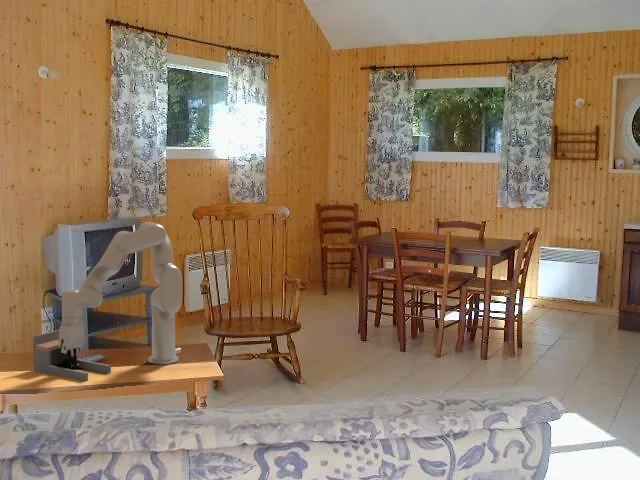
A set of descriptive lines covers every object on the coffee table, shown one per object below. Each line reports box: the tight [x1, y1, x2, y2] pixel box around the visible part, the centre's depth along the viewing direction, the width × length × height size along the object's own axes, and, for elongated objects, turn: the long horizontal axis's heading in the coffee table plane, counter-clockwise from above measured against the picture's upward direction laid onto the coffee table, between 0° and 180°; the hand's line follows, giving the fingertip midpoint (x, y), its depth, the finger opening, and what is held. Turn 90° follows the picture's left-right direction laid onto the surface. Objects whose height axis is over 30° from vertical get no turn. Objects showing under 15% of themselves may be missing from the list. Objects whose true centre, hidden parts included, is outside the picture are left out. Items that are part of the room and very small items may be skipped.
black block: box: [61, 359, 76, 370], centre depth 300 cm, size 12×7×5 cm, turn 11°
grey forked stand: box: [32, 329, 112, 382], centre depth 297 cm, size 14×28×14 cm, turn 62°
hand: (72, 365), depth 298 cm, fingers closed
